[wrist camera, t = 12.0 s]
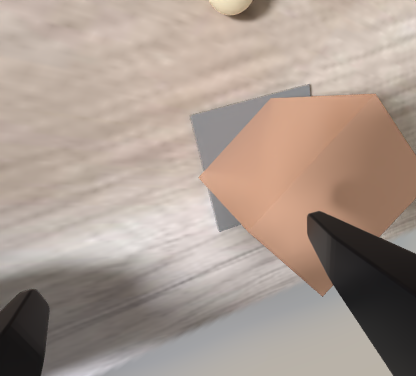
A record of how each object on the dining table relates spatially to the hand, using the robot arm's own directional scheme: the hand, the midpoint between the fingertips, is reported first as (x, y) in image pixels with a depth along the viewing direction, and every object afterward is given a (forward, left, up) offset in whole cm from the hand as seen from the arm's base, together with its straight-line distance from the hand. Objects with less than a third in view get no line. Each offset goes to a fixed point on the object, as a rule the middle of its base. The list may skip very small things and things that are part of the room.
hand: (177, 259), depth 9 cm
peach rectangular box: (+8, -1, -11) cm, 14 cm away
